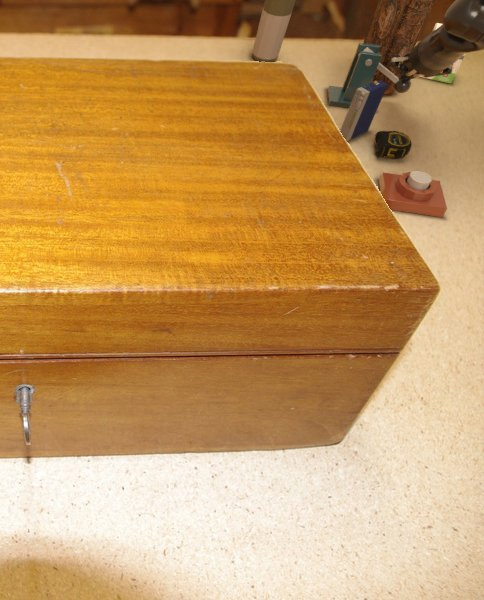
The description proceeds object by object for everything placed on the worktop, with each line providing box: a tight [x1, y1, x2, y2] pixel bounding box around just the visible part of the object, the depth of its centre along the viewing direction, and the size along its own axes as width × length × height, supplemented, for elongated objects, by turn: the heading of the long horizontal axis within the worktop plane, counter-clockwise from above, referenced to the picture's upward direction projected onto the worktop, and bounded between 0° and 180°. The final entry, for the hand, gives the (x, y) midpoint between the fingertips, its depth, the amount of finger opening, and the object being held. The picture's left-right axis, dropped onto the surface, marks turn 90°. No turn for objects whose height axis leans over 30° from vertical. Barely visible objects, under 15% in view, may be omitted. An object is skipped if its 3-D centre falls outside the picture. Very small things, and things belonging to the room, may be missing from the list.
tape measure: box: [374, 130, 412, 160], centre depth 149 cm, size 7×7×4 cm
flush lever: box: [358, 47, 412, 94], centre depth 157 cm, size 14×4×4 cm, turn 77°
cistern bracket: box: [327, 42, 382, 109], centre depth 159 cm, size 10×7×13 cm
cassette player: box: [339, 80, 388, 142], centre depth 150 cm, size 7×2×12 cm, turn 123°
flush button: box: [406, 170, 433, 190], centre depth 136 cm, size 4×4×2 cm
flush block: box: [378, 171, 448, 218], centre depth 138 cm, size 11×9×4 cm
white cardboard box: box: [419, 22, 467, 84], centre depth 168 cm, size 9×5×12 cm, turn 64°
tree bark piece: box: [362, 0, 436, 97], centre depth 162 cm, size 16×6×25 cm, turn 175°
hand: (406, 76), depth 157 cm, fingers closed
